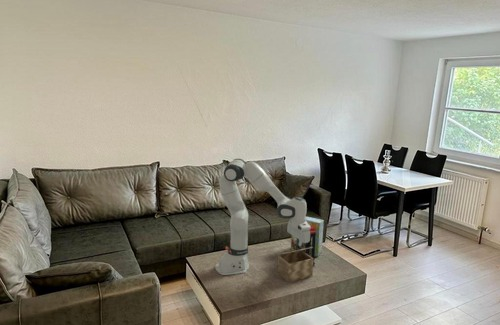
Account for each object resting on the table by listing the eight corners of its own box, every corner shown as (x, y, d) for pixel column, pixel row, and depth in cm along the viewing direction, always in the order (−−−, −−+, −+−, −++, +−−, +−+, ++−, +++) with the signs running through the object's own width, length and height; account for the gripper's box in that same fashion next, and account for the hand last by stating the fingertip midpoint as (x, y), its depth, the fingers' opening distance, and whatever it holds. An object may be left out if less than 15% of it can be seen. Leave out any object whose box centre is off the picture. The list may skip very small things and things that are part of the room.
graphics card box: (314, 266, 235) (317, 228, 230) (305, 267, 233) (307, 229, 228) (303, 255, 251) (305, 219, 246) (294, 256, 249) (296, 220, 244)
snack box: (322, 253, 255) (324, 219, 250) (317, 257, 248) (320, 223, 243) (295, 245, 266) (296, 213, 261) (290, 250, 259) (291, 216, 254)
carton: (288, 282, 215) (289, 264, 212) (277, 272, 226) (278, 255, 224) (312, 276, 222) (313, 258, 220) (300, 267, 234) (301, 250, 232)
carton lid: (288, 252, 213) (286, 245, 214) (278, 255, 224) (276, 247, 225) (312, 247, 220) (310, 240, 222) (301, 250, 232) (300, 243, 233)
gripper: (285, 218, 224) (284, 238, 227) (303, 229, 206) (302, 251, 209) (293, 217, 227) (292, 237, 230) (312, 228, 209) (311, 249, 212)
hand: (297, 244), depth 219 cm, fingers open, 3 cm apart
